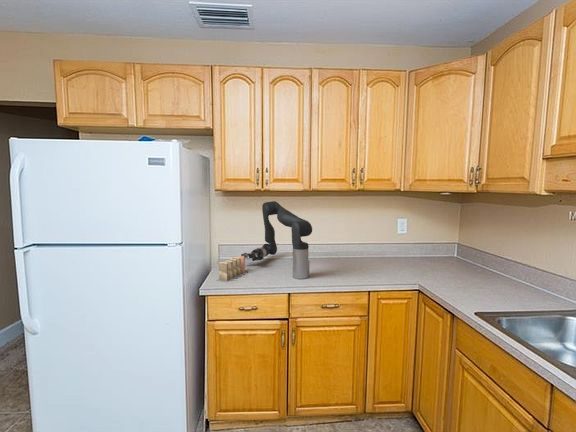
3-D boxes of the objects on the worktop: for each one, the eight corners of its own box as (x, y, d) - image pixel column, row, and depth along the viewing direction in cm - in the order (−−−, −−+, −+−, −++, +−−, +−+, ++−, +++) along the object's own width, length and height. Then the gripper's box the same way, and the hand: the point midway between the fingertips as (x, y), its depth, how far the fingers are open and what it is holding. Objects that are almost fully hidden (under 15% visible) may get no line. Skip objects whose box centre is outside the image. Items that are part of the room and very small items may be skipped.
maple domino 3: (229, 275, 197) (229, 258, 196) (237, 276, 195) (236, 259, 194) (228, 275, 196) (228, 259, 195) (235, 276, 194) (235, 260, 193)
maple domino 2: (225, 277, 193) (225, 260, 192) (232, 278, 191) (232, 261, 190) (224, 278, 192) (223, 261, 191) (231, 279, 190) (231, 261, 189)
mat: (237, 271, 208) (237, 270, 208) (248, 272, 205) (248, 271, 204) (215, 281, 187) (215, 280, 187) (227, 283, 183) (227, 282, 183)
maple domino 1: (220, 279, 189) (220, 262, 188) (228, 280, 187) (228, 262, 186) (219, 280, 188) (218, 262, 187) (226, 281, 186) (226, 263, 185)
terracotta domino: (237, 271, 206) (237, 255, 204) (244, 272, 204) (244, 256, 203) (236, 272, 204) (236, 256, 203) (243, 273, 202) (243, 256, 201)
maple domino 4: (233, 273, 201) (233, 257, 200) (241, 274, 199) (240, 257, 198) (232, 274, 200) (232, 257, 199) (239, 275, 198) (239, 258, 197)
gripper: (249, 247, 227) (237, 252, 213) (268, 249, 222) (256, 253, 207) (249, 258, 228) (237, 263, 213) (268, 260, 223) (256, 265, 208)
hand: (246, 258), depth 210 cm, fingers open, 8 cm apart
